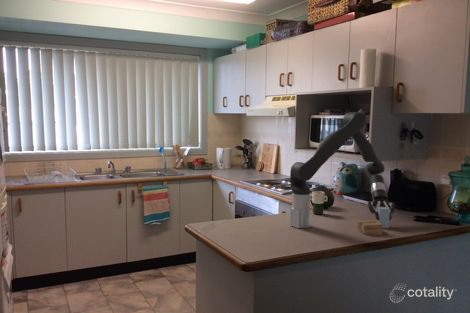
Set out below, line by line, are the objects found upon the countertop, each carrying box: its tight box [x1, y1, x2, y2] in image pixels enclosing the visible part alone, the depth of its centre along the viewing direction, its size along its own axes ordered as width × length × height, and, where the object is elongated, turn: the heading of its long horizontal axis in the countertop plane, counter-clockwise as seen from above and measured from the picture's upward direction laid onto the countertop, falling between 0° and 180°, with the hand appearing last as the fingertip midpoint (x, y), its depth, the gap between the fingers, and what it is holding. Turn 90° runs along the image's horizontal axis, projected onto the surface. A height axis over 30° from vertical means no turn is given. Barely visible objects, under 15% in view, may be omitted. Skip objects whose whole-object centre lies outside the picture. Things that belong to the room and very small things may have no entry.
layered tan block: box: [356, 219, 383, 236], centre depth 203 cm, size 9×9×5 cm
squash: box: [310, 184, 335, 210], centre depth 259 cm, size 14×15×15 cm
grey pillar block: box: [376, 206, 391, 229], centre depth 212 cm, size 5×5×10 cm
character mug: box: [310, 191, 327, 215], centre depth 241 cm, size 11×7×13 cm, turn 60°
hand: (384, 219), depth 211 cm, fingers closed on grey pillar block, 5 cm apart
